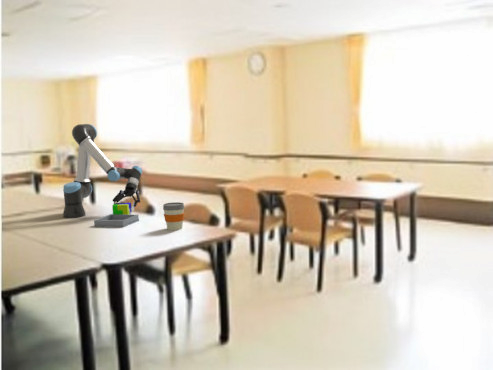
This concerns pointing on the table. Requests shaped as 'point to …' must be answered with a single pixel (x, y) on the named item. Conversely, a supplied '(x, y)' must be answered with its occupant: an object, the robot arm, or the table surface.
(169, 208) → the reusable coffee cup
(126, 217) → the tray
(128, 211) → the puzzle toy
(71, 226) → the table surface
